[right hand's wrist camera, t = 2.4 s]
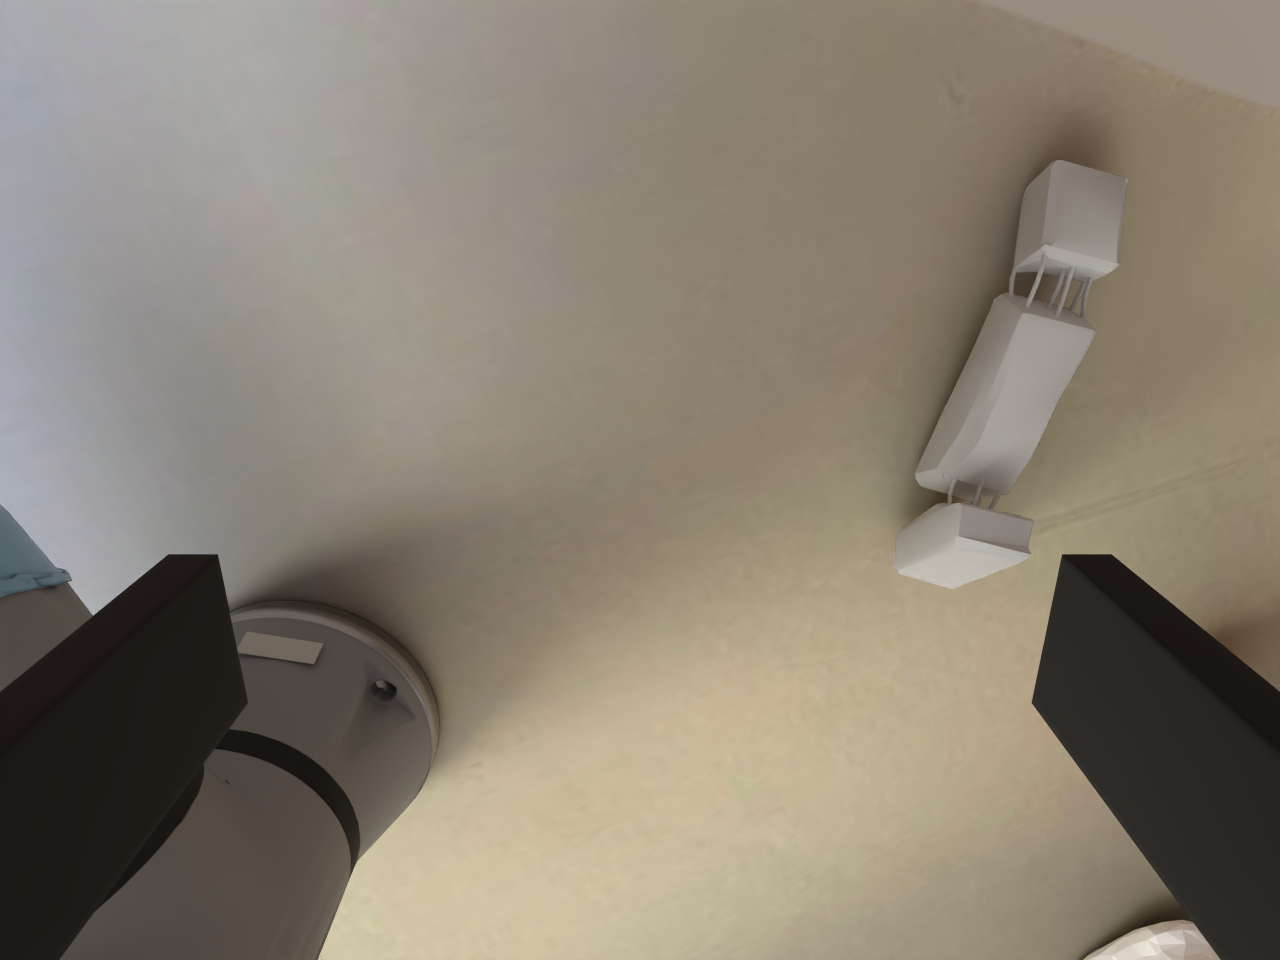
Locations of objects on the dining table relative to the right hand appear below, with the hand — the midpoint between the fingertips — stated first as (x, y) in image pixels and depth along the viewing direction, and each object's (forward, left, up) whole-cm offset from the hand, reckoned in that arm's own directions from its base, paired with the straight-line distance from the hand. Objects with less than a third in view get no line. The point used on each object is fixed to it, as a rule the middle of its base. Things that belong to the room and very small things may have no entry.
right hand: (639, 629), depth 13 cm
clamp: (+1, -17, -28) cm, 33 cm away
